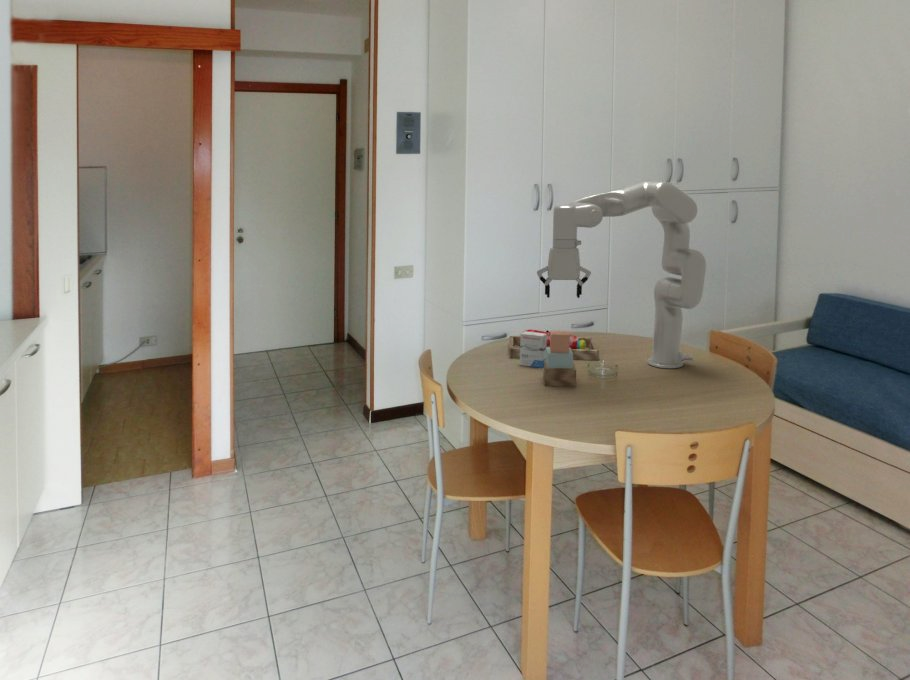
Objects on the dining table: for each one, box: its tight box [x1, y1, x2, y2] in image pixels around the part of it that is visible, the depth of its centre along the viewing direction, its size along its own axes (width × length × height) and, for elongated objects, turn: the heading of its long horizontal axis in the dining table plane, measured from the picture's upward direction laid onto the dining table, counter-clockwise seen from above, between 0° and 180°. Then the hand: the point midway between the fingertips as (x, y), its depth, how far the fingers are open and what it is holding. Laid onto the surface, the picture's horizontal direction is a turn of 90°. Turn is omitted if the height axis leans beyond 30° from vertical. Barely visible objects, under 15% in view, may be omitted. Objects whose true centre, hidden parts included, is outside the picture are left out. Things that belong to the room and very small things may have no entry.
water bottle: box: [523, 329, 587, 350], centre depth 275 cm, size 12×8×25 cm
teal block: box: [546, 347, 574, 369], centre depth 236 cm, size 8×8×5 cm
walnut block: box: [543, 360, 577, 387], centre depth 237 cm, size 10×10×6 cm
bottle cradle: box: [508, 335, 600, 361], centre depth 273 cm, size 33×20×4 cm, turn 86°
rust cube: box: [550, 329, 571, 353], centre depth 235 cm, size 6×6×6 cm
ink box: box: [519, 330, 547, 369], centre depth 255 cm, size 8×5×12 cm, turn 65°
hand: (563, 296), depth 231 cm, fingers open, 9 cm apart
